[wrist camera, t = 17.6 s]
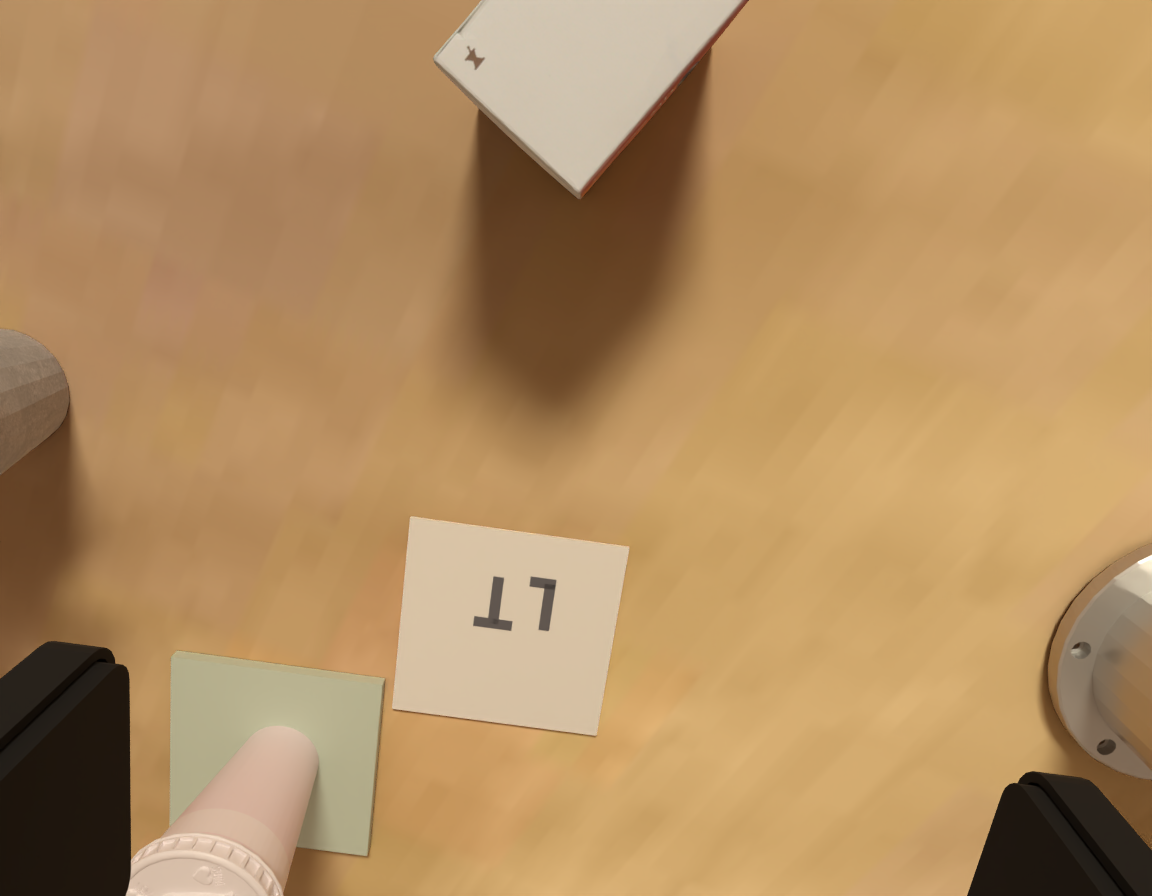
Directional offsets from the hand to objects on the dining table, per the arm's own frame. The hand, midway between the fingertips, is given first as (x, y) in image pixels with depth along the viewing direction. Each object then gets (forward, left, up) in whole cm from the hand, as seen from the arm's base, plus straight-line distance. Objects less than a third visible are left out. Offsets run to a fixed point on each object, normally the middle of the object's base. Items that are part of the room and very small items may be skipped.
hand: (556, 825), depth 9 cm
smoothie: (+12, +22, -28) cm, 37 cm away
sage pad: (+12, +22, -28) cm, 38 cm away
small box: (+1, -11, -29) cm, 31 cm away
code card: (+2, +14, -28) cm, 31 cm away
